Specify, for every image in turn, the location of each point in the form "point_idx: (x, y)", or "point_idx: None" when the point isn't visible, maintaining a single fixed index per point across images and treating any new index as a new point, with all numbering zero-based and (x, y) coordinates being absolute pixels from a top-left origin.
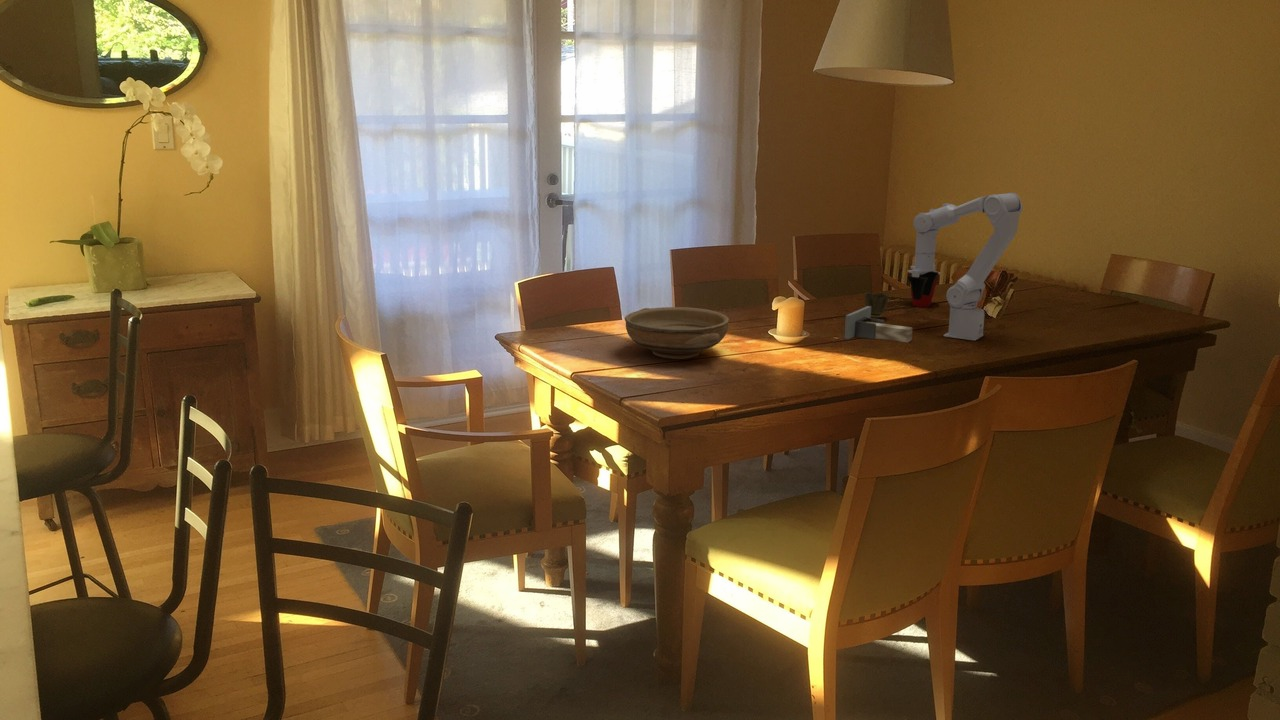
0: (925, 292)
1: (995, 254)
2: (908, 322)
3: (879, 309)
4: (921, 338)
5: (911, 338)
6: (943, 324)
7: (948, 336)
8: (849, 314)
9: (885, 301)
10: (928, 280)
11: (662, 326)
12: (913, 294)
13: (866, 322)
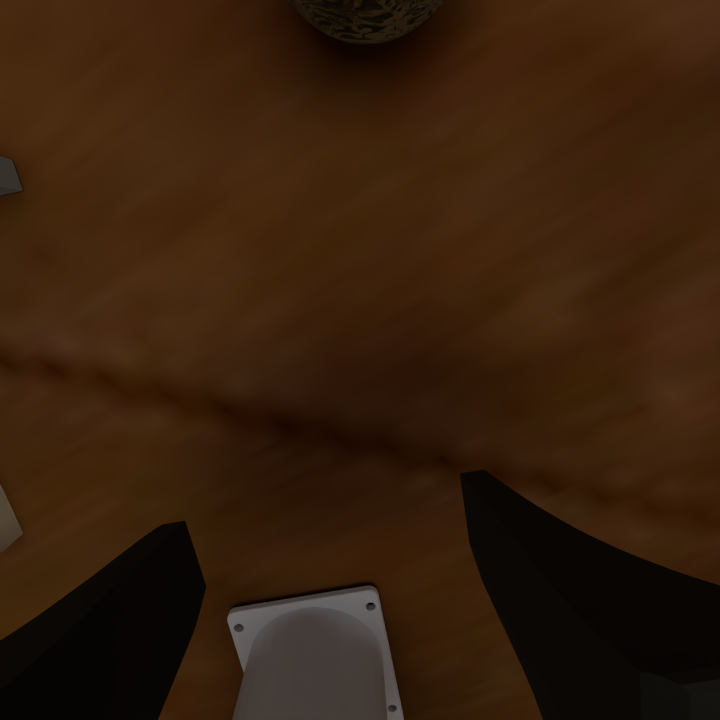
0: (473, 523)
1: None
2: (425, 271)
3: (303, 17)
4: (102, 548)
5: (8, 542)
6: (526, 460)
7: (233, 635)
8: None
9: (356, 11)
10: (556, 710)
11: None
12: (124, 560)
13: None
